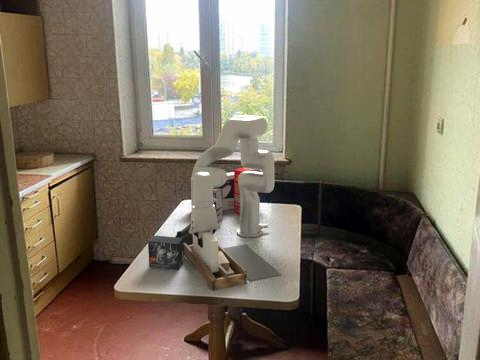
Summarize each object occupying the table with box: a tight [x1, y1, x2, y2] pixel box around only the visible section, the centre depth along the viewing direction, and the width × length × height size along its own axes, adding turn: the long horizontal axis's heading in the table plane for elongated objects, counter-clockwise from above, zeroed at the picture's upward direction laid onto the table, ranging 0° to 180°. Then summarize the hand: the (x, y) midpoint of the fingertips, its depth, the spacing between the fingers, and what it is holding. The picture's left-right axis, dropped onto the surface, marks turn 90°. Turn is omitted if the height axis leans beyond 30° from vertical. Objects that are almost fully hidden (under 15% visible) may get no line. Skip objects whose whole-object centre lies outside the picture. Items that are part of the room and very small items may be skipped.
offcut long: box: [225, 267, 235, 276], centre depth 198 cm, size 4×24×3 cm, turn 21°
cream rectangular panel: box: [192, 230, 219, 274], centre depth 194 cm, size 3×22×13 cm, turn 24°
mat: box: [223, 244, 282, 282], centre depth 203 cm, size 14×34×1 cm, turn 24°
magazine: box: [174, 222, 193, 245], centre depth 221 cm, size 17×3×30 cm
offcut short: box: [218, 251, 229, 269], centre depth 196 cm, size 4×12×2 cm, turn 18°
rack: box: [183, 243, 248, 291], centre depth 196 cm, size 14×36×6 cm, turn 24°
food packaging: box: [233, 167, 259, 216], centre depth 266 cm, size 15×5×25 cm, turn 141°
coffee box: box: [213, 189, 224, 223], centre depth 254 cm, size 9×6×16 cm
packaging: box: [190, 171, 234, 211], centre depth 270 cm, size 30×6×20 cm, turn 117°
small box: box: [147, 235, 184, 271], centre depth 197 cm, size 13×7×12 cm, turn 80°
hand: (205, 245), depth 193 cm, fingers closed on cream rectangular panel, 3 cm apart
